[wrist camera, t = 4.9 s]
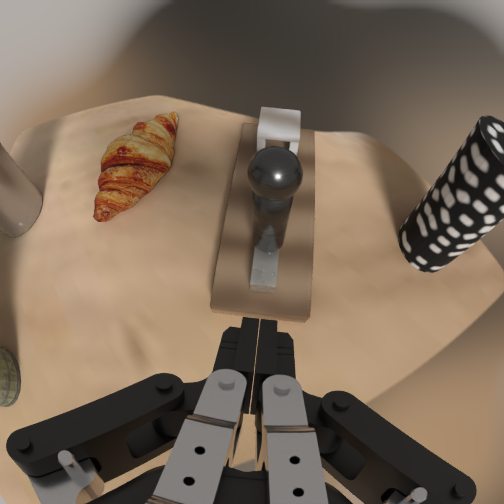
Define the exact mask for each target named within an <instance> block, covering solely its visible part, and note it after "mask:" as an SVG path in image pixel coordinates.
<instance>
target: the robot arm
mask: <svg viewBox="0 0 504 504" xmlns="http://www.w3.org/2000/svg"><path fill="white" fill-rule="evenodd" d="M41 207H42V195H41V193H40V191H39V190H38V189H37V188H36V187H35V185H34V184H33V183H32V182H31V181H30V180H29V178H28V177H27V176H26V175H25V173H24V172H23V171H22V170H21V169H20V167H19V166H18V165H17V164H16V162H15V161H14V160H13V159H12V157H11V156H10V155H9V154H8V152H7V151H6V150H5V148H4V147H3V146H2V145H1V143H0V230H1V231H3V232H4V233H5V234H6V235H8V236H10V237H17V236H20V235H22V234H23V233H25V232H26V231H27V230H28V229H29V228H30V227H31V226H32V225H33V223H34V222H35V220H36V219H37V217H38V215H39V213H40V210H41ZM258 327H259V319H257V318H248V317H243V319H242V325H241V328H237V327H229V328H228V329H227V330H226V331H224V332H223V335H222V339H221V342H220V346H219V349H218V353H217V357H216V360H215V364H214V368H213V371H212V373H211V374H210V375H209V377H207V378H206V379H204V380H202V381H199V382H193V383H183V382H182V380H181V379H180V378H179V377H177V376H175V375H173V374H169V373H159V374H155V375H153V376H151V377H149V378H146V379H144V380H142V381H140V382H137V383H135V384H133V385H131V386H128V387H126V388H124V389H122V390H119V391H117V392H115V393H112V394H110V395H108V396H105V397H103V398H100V399H98V400H96V401H93V402H91V403H88V404H86V405H83V406H81V407H78V408H76V409H73V410H71V411H68V412H66V413H63V414H60V415H58V416H55V417H52V418H50V419H47V420H44V421H41V422H39V423H36V424H33V425H30V426H27V427H24V428H21V429H19V430H16V431H14V432H13V433H12V434H11V435H10V436H9V438H8V440H7V443H6V448H7V452H8V454H9V455H10V457H11V458H12V459H13V460H14V462H15V463H16V464H17V465H18V466H19V467H20V469H21V470H22V471H23V472H24V473H25V474H26V475H27V476H28V477H29V479H30V481H31V484H32V486H33V488H34V490H35V492H36V494H37V496H38V498H39V500H40V502H41V504H353V503H352V502H351V501H349V500H348V499H347V498H346V497H345V496H344V495H343V494H342V493H341V492H340V491H338V490H337V489H336V488H334V487H333V486H332V485H330V484H328V483H326V482H325V481H324V476H323V470H322V467H323V468H324V469H325V470H326V471H327V472H328V473H330V474H331V475H332V476H333V477H334V478H335V479H336V480H337V481H338V482H340V483H341V484H342V485H343V486H344V487H345V488H346V489H348V490H349V491H350V492H351V493H352V494H354V495H355V496H356V497H357V498H358V499H360V500H361V501H362V502H363V503H364V504H471V503H472V502H473V500H474V499H475V496H476V485H475V483H474V481H473V480H472V479H471V478H470V477H469V476H467V475H466V474H464V473H463V472H461V471H459V470H458V469H456V468H455V467H453V466H452V465H450V464H449V463H447V462H446V461H444V460H443V459H441V458H440V457H438V456H437V455H435V454H434V453H432V452H430V451H429V450H428V449H426V448H425V447H424V446H422V445H421V444H419V443H418V442H416V441H415V440H413V439H412V438H411V437H409V436H408V435H406V434H405V433H403V432H402V431H401V430H399V429H398V428H396V427H395V426H394V425H392V424H391V423H390V422H388V421H386V420H385V419H384V418H383V417H381V416H380V415H379V414H377V413H376V412H374V411H373V410H372V409H371V408H369V407H368V406H367V405H365V404H364V403H363V402H361V401H360V400H359V399H357V398H356V397H355V396H353V395H352V394H350V393H348V392H344V391H332V392H329V393H327V394H326V395H325V396H324V397H323V398H321V397H317V396H314V395H310V394H308V393H306V392H304V391H303V390H302V388H301V385H300V383H299V382H298V381H297V380H296V375H295V359H294V344H293V339H292V338H291V336H290V335H289V334H288V333H284V332H277V321H276V320H266V319H261V321H260V330H259V338H258V346H257V337H258ZM256 347H257V355H256ZM255 356H256V364H255ZM254 366H255V374H254ZM253 375H254V384H253V393H252V402H251V412H250V414H253V415H255V427H256V429H255V457H256V470H255V471H252V472H242V471H240V470H236V469H234V468H232V467H233V463H234V459H235V455H236V450H237V446H238V442H239V438H240V434H241V429H242V421H243V413H245V414H249V406H250V399H251V391H252V383H253ZM171 448H173V449H172V451H171V454H170V456H169V458H168V461H167V463H166V465H162V466H159V467H156V468H153V469H151V470H148V471H146V472H145V473H143V474H141V475H139V476H138V477H136V478H134V479H132V480H131V481H129V482H127V483H125V484H123V485H121V486H120V487H118V488H116V489H114V490H112V491H110V492H108V493H106V494H104V495H102V493H103V491H104V483H105V482H108V481H110V480H112V479H114V478H116V477H118V476H120V475H122V474H124V473H126V472H128V471H130V470H132V469H134V468H136V467H138V466H140V465H142V464H144V463H146V462H148V461H149V460H151V459H153V458H155V457H157V456H159V455H160V454H162V453H164V452H166V451H168V450H169V449H171ZM101 495H102V496H101Z"/></svg>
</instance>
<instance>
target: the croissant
mask: <svg viewBox="0 0 504 504" xmlns="http://www.w3.org/2000/svg"><path fill="white" fill-rule="evenodd" d="M177 123H178V116H177V114H176V113H175V112H172V113H170V114H162V115H161V114H160V115H157V116H156V117H155V118H154V119H153V120H150V121H147V122H138V123H137V124H136V125H135V126H134V128H133V133H132V134H130V135H124V136H121V137H119V138H117V139H116V140H115V141H114V142H111V143H110V145H109V146H108V147H107V150H106V152H105V154H104V155H103V157H102V160H101V175H100V177H99V179H98V185H99V189H100V192H98V193H97V195H96V198H95V209H94V215H93V217H94V219H95V220H97V221H98V222H106V221H108V220H110V219H112V218H113V217H114V216H116V215H117V214H118V213H119V212H121V211H125V210H127V209H129V208H131V207H133V206H134V205H135V204H136V203H137V202H138V201H139V200H140V199H141V198H142V197H143V196H144V195H146V194H148V193H149V192H150V191H151V190H152V189H153V187H154V186H155V185H156V184H157V182H158V181H159V180H160V179H161V178H162V177H163V176H164V175H165V173H166V172H168V170H169V169H170V167H171V162H172V159H173V156H174V150H173V146H174V141H175V137H176V132H175V131H176V129H177Z"/></svg>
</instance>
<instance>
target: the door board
mask: <svg viewBox="0 0 504 504" xmlns="http://www.w3.org/2000/svg"><path fill="white" fill-rule="evenodd" d="M269 146H281V147H284V148H287V149H289V150H290V151H292V152H293V153H294V154H295V155H296V156H297V157H298V158H299V160H300V162H301V164H302V167H303V181H302V184H301V186H300V188H299V189H298V191H297V192H296V193H295V194H294V197H293V201H292V206H291V211H290V215H289V220H288V225H287V229H286V234H285V239H284V243H283V245H282V247H281V248H280V249H279V258H278V268H277V279H276V288H275V292H274V293H268V292H259V291H251V290H250V281H251V273H252V266H253V258H254V250H255V246H254V244H253V241H252V189H251V187H250V185H249V183H248V179H247V168H248V164H249V162H250V160H251V158H252V157H253V156H254V155H255V153H257V152H258V151H259V150H261V149H263V148H265V147H269ZM314 213H315V137H314V130H307V129H300V111H296V110H287V109H278V108H268V107H261V113H260V118H259V124H250V123H244V126H243V130H242V135H241V140H240V145H239V150H238V154H237V159H236V164H235V169H234V174H233V179H232V185H231V190H230V195H229V200H228V205H227V211H226V216H225V221H224V227H223V232H222V238H221V243H220V249H219V255H218V260H217V266H216V272H215V278H214V284H213V290H212V296H211V302H210V307H211V309H212V311H213V312H215V313H222V314H230V315H238V316H246V317H255V318H264V319H273V320H283V321H293V322H304V323H305V322H306V321H307V320H308V318H309V317H310V308H311V292H312V273H313V249H314Z"/></svg>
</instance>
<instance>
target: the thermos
mask: <svg viewBox="0 0 504 504" xmlns="http://www.w3.org/2000/svg"><path fill="white" fill-rule="evenodd" d="M20 386H21V378H20V371H19V367H18V364H17V361H16V360H15V358H14V356H13V355H12V353H11V352H10V351H9V350H7V349H5V348H3V347H0V406H5V407H8V406H11V405H13V404H14V403H15V401H16V400H17V399H18V396H19V393H20Z"/></svg>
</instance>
